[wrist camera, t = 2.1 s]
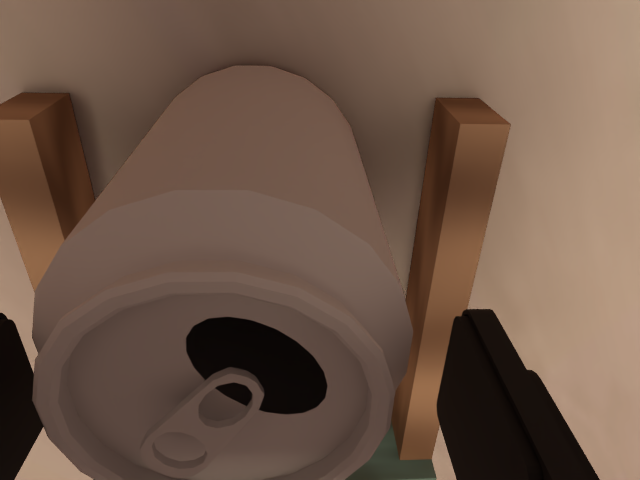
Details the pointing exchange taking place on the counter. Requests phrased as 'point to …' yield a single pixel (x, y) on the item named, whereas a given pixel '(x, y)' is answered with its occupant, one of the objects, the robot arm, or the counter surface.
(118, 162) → the counter surface
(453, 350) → the robot arm
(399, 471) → the bay
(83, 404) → the can
